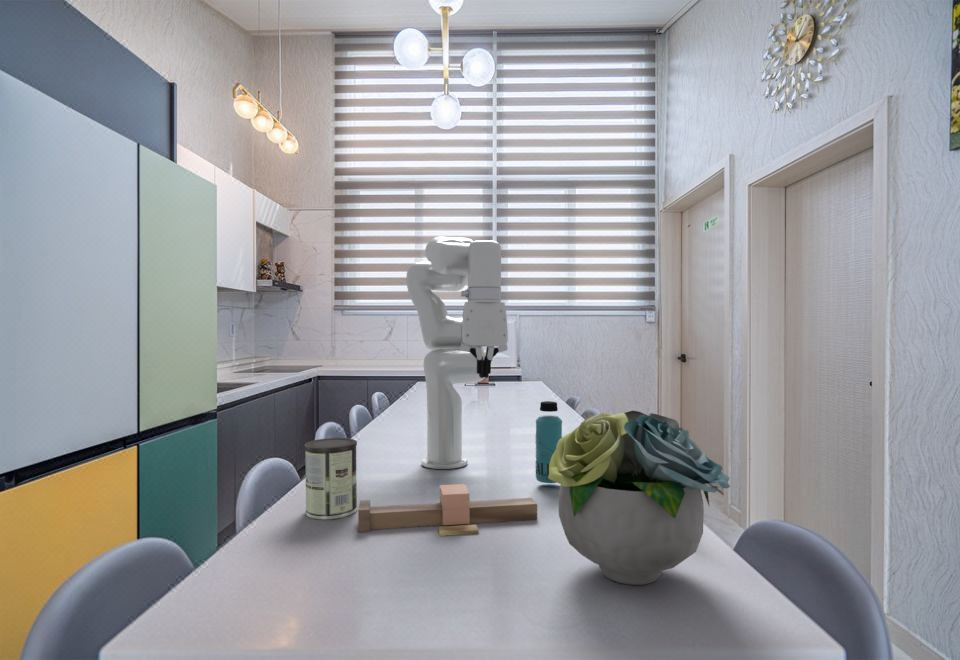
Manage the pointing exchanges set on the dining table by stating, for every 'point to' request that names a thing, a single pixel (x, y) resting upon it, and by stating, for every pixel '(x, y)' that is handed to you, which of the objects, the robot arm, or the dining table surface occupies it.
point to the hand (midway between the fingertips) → (483, 377)
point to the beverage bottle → (546, 440)
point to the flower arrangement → (633, 493)
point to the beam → (433, 515)
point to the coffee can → (331, 478)
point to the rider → (454, 504)
